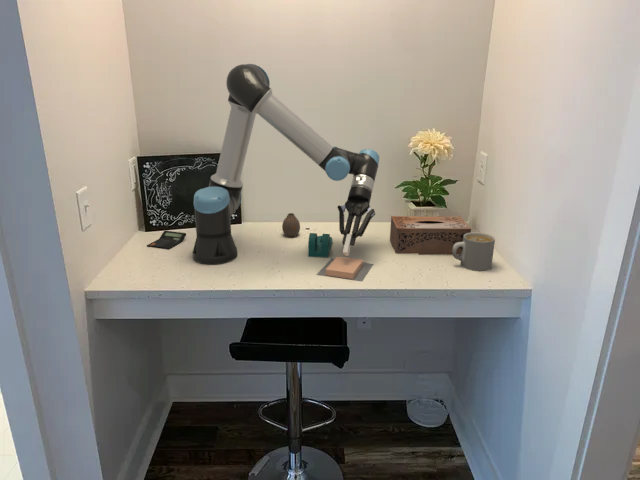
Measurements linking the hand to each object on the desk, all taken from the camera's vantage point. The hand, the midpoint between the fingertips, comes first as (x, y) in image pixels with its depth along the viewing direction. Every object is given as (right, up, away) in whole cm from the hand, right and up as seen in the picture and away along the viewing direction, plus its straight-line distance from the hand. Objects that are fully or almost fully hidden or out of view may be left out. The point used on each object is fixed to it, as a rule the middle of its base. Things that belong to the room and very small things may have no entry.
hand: (345, 253), depth 162 cm
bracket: (-8, +1, +21) cm, 23 cm away
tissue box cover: (+31, +1, +23) cm, 39 cm away
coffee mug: (+42, -4, +8) cm, 43 cm away
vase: (-19, +6, +35) cm, 41 cm away
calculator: (-65, +3, +26) cm, 70 cm away
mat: (0, -6, +2) cm, 6 cm away
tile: (+2, -3, +6) cm, 7 cm away
